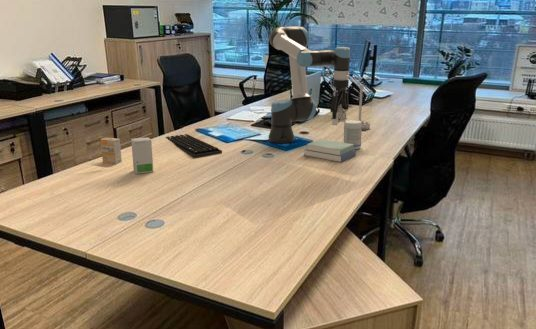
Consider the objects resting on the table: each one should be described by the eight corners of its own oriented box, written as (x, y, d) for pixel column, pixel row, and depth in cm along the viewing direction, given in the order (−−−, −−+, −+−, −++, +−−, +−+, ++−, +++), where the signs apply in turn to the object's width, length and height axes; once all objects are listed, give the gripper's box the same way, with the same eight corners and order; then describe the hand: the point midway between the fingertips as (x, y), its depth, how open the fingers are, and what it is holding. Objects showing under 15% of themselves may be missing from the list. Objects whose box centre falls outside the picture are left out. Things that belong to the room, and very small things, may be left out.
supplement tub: (364, 148, 247) (365, 122, 243) (351, 150, 242) (353, 124, 238) (352, 144, 255) (353, 119, 250) (339, 147, 250) (340, 121, 245)
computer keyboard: (163, 142, 265) (162, 136, 263) (187, 139, 273) (187, 133, 272) (194, 160, 228) (194, 153, 227) (222, 155, 237) (221, 148, 236)
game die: (349, 123, 232) (350, 103, 229) (345, 126, 224) (346, 106, 221) (332, 121, 235) (333, 102, 232) (327, 124, 228) (328, 105, 225)
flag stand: (371, 132, 283) (374, 85, 275) (350, 132, 284) (353, 85, 275) (367, 128, 296) (369, 82, 287) (347, 128, 296) (349, 83, 287)
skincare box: (136, 174, 205) (132, 141, 201) (133, 170, 211) (130, 138, 206) (154, 171, 209) (151, 139, 204) (151, 168, 215) (148, 136, 210)
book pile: (303, 155, 234) (304, 144, 232) (319, 149, 246) (319, 138, 244) (341, 162, 221) (341, 150, 219) (355, 155, 233) (356, 144, 231)
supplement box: (102, 164, 220) (99, 139, 217) (109, 162, 225) (106, 137, 221) (116, 166, 218) (113, 140, 214) (122, 163, 222) (119, 138, 218)
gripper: (338, 81, 212) (335, 128, 219) (357, 77, 229) (354, 120, 236) (324, 80, 217) (322, 126, 223) (343, 76, 233) (341, 119, 240)
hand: (338, 123), depth 230 cm, fingers closed on game die, 9 cm apart
